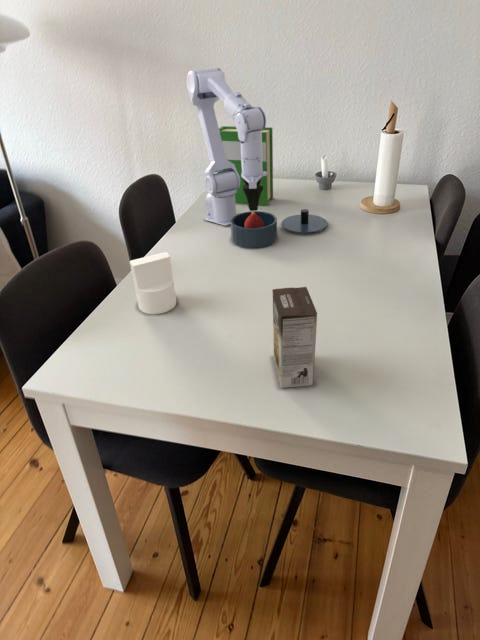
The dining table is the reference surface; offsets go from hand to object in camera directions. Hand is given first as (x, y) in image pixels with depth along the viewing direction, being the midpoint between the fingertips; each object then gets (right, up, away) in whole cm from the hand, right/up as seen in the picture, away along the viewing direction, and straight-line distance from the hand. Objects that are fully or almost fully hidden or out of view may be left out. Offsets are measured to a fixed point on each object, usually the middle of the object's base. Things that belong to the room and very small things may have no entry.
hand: (253, 205), depth 136 cm
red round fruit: (+1, -8, +6) cm, 10 cm away
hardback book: (-1, +10, +33) cm, 35 cm away
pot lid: (+16, -3, +11) cm, 20 cm away
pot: (+1, -9, +6) cm, 10 cm away
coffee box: (+6, -43, -45) cm, 62 cm away
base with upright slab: (-24, -29, -22) cm, 43 cm away
